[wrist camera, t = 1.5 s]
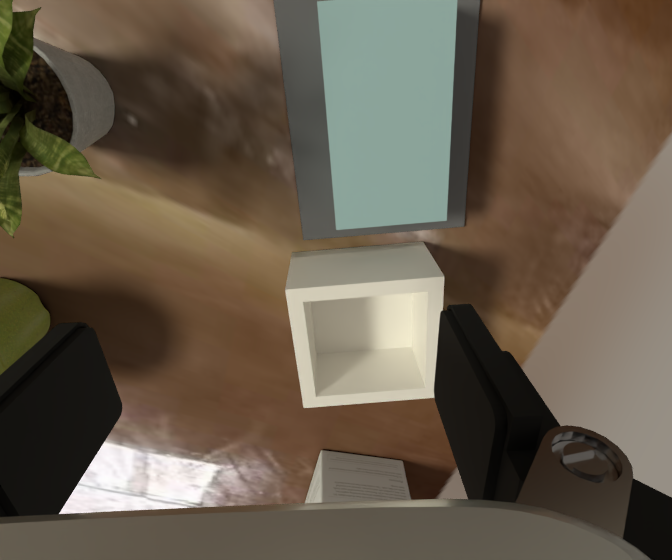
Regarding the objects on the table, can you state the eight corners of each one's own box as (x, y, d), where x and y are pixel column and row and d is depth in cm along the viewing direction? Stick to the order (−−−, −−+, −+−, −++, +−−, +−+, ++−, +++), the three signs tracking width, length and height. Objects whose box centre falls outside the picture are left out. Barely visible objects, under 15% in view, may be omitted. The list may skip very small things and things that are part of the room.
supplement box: (302, 503, 44) (293, 689, 30) (320, 447, 40) (318, 632, 26) (381, 513, 45) (405, 696, 32) (405, 459, 41) (445, 642, 28)
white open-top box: (292, 252, 30) (285, 289, 25) (423, 241, 30) (444, 276, 25) (306, 357, 35) (303, 408, 29) (420, 348, 35) (438, 397, 29)
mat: (271, -24, 23) (270, -25, 22) (481, -44, 22) (482, -45, 22) (303, 239, 30) (303, 240, 30) (463, 225, 30) (464, 226, 29)
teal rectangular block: (318, 13, 23) (317, 1, 20) (437, 2, 23) (458, -12, 20) (334, 211, 29) (336, 230, 25) (431, 203, 29) (446, 220, 25)
